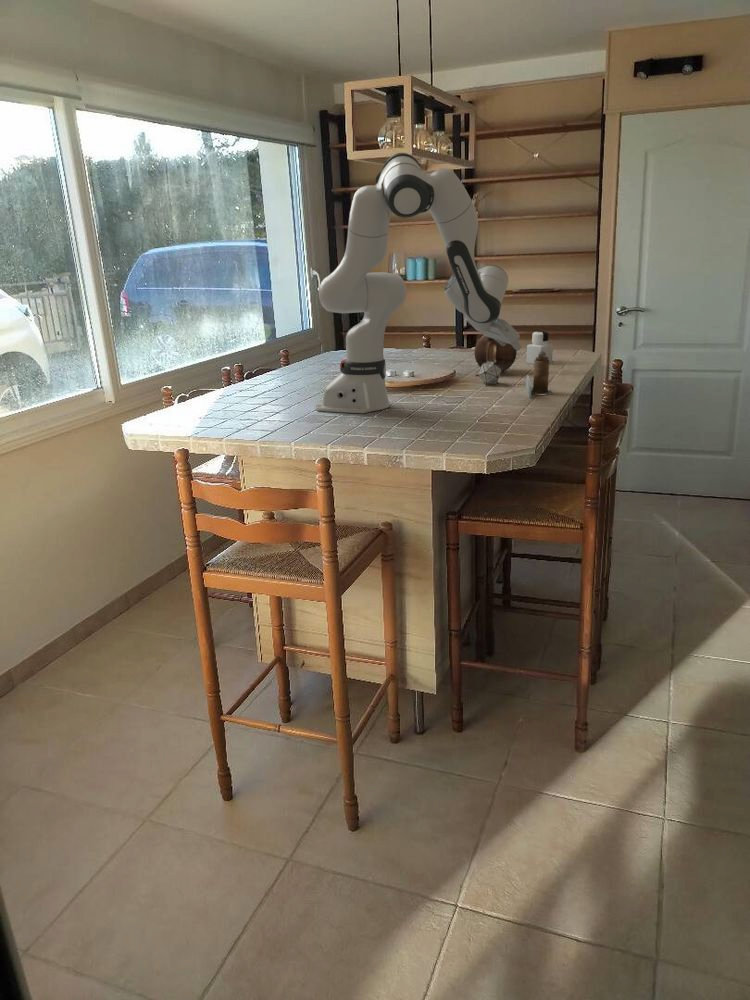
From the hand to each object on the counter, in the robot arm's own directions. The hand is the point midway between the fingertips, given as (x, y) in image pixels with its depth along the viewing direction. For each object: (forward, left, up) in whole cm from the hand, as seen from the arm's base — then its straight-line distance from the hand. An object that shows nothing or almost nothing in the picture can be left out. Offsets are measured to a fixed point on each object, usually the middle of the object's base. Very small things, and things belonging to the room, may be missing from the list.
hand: (511, 346), depth 236 cm
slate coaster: (+10, +2, -15) cm, 18 cm away
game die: (-6, +16, -15) cm, 23 cm away
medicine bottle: (+13, +57, -15) cm, 60 cm away
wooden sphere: (-4, +37, -15) cm, 40 cm away
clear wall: (+6, +2, -15) cm, 16 cm away
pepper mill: (+10, +2, -15) cm, 18 cm away
